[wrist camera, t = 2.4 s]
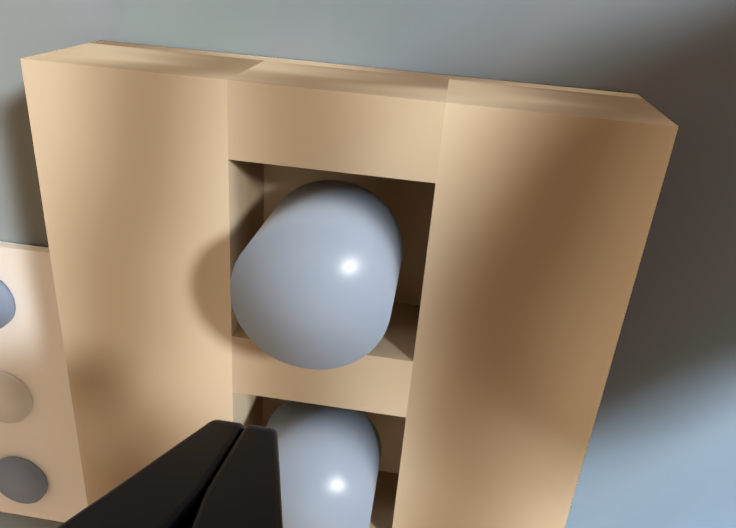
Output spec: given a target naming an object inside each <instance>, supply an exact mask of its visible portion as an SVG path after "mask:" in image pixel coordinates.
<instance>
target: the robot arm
mask: <svg viewBox="0 0 736 528" xmlns="http://www.w3.org/2000/svg"><path fill="white" fill-rule="evenodd" d="M57 528H283V518H282V500H281V483H280V465H279V448H278V433H277V431H276V429H274V428H270V427H264V426H257V425H248V426H246V427H245V426H244V425H243V424H241V423H237V422H231V421H224V420H213V421H210V422H209V423H207V424H206V425H204V426H203V427H201V428H200V429H199V430H197V431H196V432H194V433H193V434H191V435H190V436H188V437H187V438H186V439H184V440H183V441H181V442H180V443H178V444H177V445H175V446H174V447H173V448H171V449H170V450H168V451H167V452H165V453H164V454H162V455H161V456H160V457H158V458H157V459H155V460H154V461H152V462H151V463H149V464H148V465H147V466H145V467H144V468H142V469H141V470H139V471H138V472H136V473H135V474H134V475H132V476H131V477H129V478H128V479H126V480H125V481H123V482H122V483H121V484H119V485H118V486H116V487H115V488H113V489H112V490H110V491H109V492H107V493H106V494H105V495H103V496H102V497H100V498H99V499H97V500H96V501H94V502H93V503H92V504H90V505H89V506H87V507H86V508H84V509H83V510H81V511H80V512H79V513H77V514H76V515H74V516H73V517H71V518H70V519H68V520H67V521H66V522H64V523H63V524H61V525H60V526H58V527H57Z"/></svg>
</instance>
